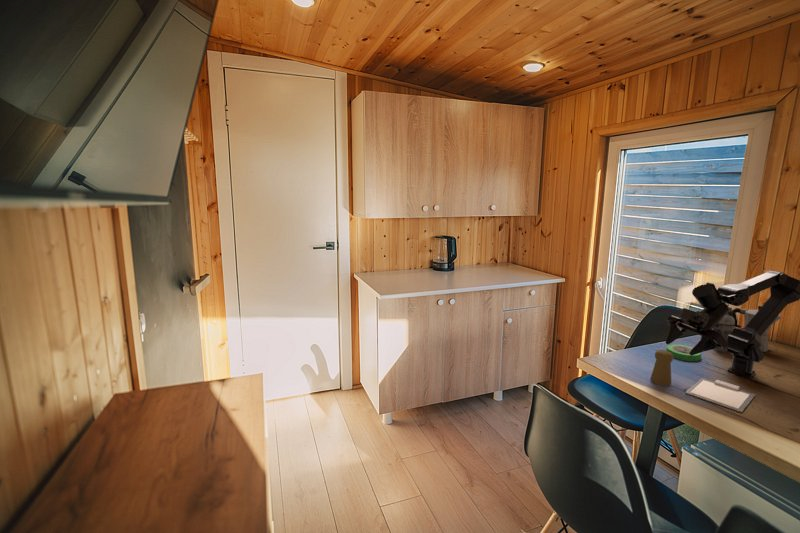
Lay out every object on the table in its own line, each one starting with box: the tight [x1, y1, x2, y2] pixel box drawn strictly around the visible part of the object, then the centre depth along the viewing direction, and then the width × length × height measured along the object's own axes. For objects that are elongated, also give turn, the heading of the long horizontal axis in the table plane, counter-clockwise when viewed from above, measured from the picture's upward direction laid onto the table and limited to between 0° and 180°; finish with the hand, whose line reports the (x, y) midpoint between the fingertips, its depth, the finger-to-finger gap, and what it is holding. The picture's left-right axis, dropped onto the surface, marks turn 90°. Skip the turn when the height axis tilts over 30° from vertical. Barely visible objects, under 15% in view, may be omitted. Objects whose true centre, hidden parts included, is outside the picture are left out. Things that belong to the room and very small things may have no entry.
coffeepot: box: [732, 305, 783, 353], centre depth 158 cm, size 15×9×18 cm, turn 45°
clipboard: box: [684, 377, 756, 414], centre depth 123 cm, size 16×14×1 cm
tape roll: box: [666, 344, 702, 362], centre depth 152 cm, size 11×11×3 cm
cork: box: [649, 349, 674, 387], centre depth 130 cm, size 6×6×11 cm
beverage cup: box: [712, 303, 735, 353], centre depth 155 cm, size 7×7×20 cm
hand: (678, 348), depth 130 cm, fingers open, 9 cm apart
